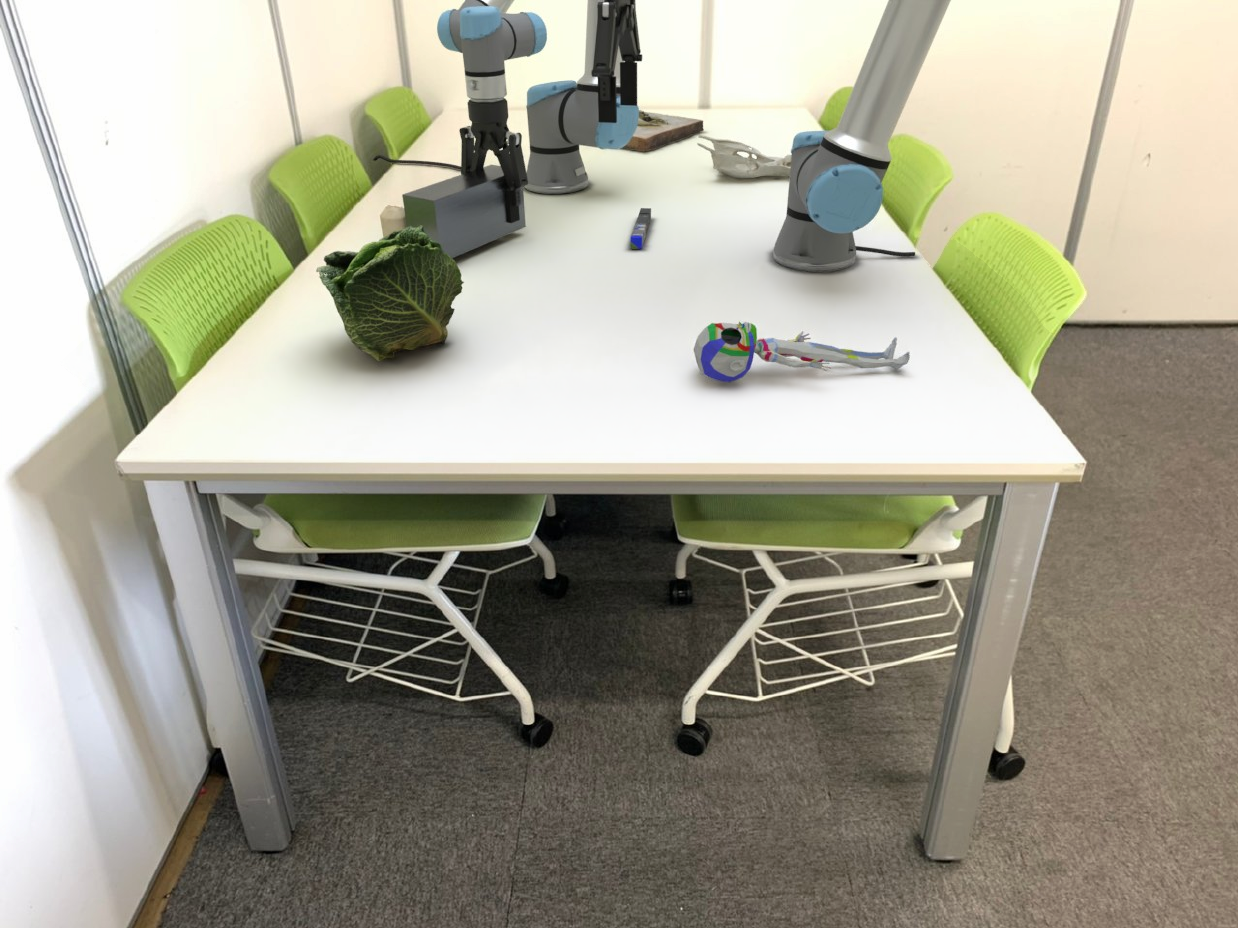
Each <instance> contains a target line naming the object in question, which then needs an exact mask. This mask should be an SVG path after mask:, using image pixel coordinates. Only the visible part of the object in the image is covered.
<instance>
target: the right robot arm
mask: <svg viewBox="0 0 1238 928" xmlns="http://www.w3.org/2000/svg"><path fill="white" fill-rule="evenodd" d="M951 1H952V0H888V1H887V3H886V6H885V8H884V10H883V12H882V15H881V18H880V20H879V23H878V25H877V27H876V29H875V30H876V31H875V33H874V35H873V38H872V40H871V43H870V45H869V48H868V50H867V52H866V55H865V57H864V60H863V62H862V64H861V65H862V66H861V68H860V70H859V73H858V75H857V77H856V80H855V83H854V85H853V86H852V87H853V88H852V90H851V92H850V94H849V97H848V100H847V102H846V104H845V107H844V110H843V112H842V114H841V116H840V120H839V122H838V124H837V126H835V128H833V129H831V130H808V131H801V132H798V133H797V134H796V135H795V136H794V137H793V140H792V146H791V149H790V153H791V155H792V156H791V167H790V176H789V179H788V193H787V205H786V216H785V218H784V221H783V224H782V226H781V228H780V230H779V233H778V234H777V235H778V236H777V238H776V241H775V242H774V247H773V257H772V258H773V260H774V261H775V262H776V263H777V264H780V265H781V266H784V267H786V268H788V269H793V270H796V271H801V272H802V271H803V272H813V273H826V272H827V273H828V272H835V271H841V270H845V269H847V268H849V267H851V266H853V265H854V264H855V263H856V259H857V258H856V256H857V252H867V253H875V254H881V255H887V256H893V257H901V258H902V257H905V258H908V257H915V256H916V252H915V251H895V250H888V249H882V248H876V247H875V248H874V247H868V246H859V245H856V241H855V236H854V232H855V231H858V230H860V229H863V228H864V227H866V226H867V225H868V224H870V222H872V221H873V220H874V219H875V217H876V216H877V215H878V213H879V211H880V210H881V207H882V204H883V199H884V188H883V183H882V182H883V180H884V178H885V176H886V173H887V171H888V169H889V167H890V164H891V163H892V160H893V157H892V155H891V152H890V149H889V143H890V140H891V138H892V137H893V134H894V132H895V129H896V127H897V125H898V122H899V120H900V118H901V116H902V114H903V111H904V109H905V106H906V104H907V102H908V100H909V97H910V95H911V92H912V90H913V88H914V86H915V83H916V82H917V79H918V77H919V74H920V72H921V70H922V67H923V65H924V63H925V61H926V59H927V56H928V54H929V51H930V49H931V46H932V44H933V42H934V40H935V38H936V35H937V33H938V31H939V29H940V26H941V24H942V22H943V19H944V17H945V15H946V13H947V11H948V8H949V6H950V3H951ZM597 8H598V19H597V31H596V42H595V53H594V64H593V70H592V71H591V74H592V77H598V115H599V122H601V123H616V122H617V94H616V76H614V71H615V65H616V59H617V53H618V46H619V49H620V53H621V58H622V61H624V62H620V105H628V106H637V105H638V62H642V61H643V53H642V54H641V51H642V50H641V45H640V36H639V27H638V26H639V25H638V17H637V8H636V0H604V2H598V5H597Z"/></svg>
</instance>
